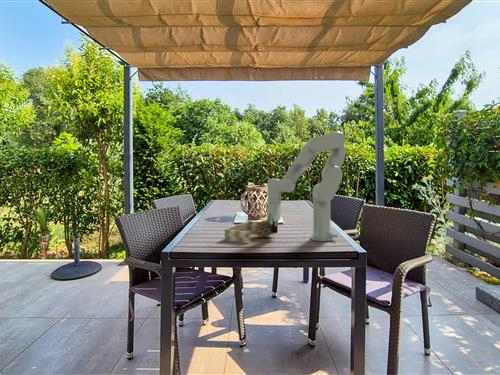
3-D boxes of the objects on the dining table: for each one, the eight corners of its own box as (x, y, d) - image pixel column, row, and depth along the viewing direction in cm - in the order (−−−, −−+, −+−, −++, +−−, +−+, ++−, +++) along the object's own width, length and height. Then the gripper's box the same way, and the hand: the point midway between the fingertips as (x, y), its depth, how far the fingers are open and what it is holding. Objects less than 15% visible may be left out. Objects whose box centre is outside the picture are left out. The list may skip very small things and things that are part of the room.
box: (270, 232, 200) (270, 222, 200) (249, 243, 176) (249, 232, 175) (248, 229, 208) (248, 220, 207) (224, 240, 183) (224, 229, 182)
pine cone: (274, 234, 195) (273, 218, 194) (279, 238, 186) (279, 221, 185) (238, 236, 190) (237, 220, 189) (241, 241, 181) (241, 223, 180)
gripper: (273, 198, 190) (273, 229, 192) (262, 202, 177) (262, 235, 179) (285, 199, 187) (285, 230, 188) (275, 202, 173) (275, 236, 175)
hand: (274, 232), depth 183 cm, fingers closed
